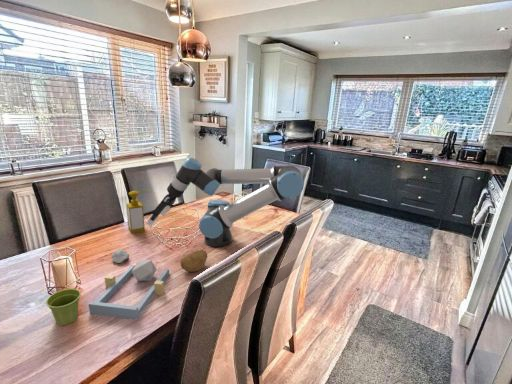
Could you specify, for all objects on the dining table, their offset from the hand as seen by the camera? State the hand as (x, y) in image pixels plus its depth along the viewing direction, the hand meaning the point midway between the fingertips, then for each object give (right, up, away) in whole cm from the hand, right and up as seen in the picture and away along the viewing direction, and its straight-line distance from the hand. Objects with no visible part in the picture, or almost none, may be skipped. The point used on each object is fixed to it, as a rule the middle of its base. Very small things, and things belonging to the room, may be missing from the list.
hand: (155, 219), depth 138 cm
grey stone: (-14, -19, -8) cm, 24 cm away
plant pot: (-14, -30, -44) cm, 55 cm away
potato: (+22, -22, -12) cm, 33 cm away
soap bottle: (-17, -8, +25) cm, 31 cm away
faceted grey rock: (+3, -23, -20) cm, 31 cm away
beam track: (+2, -25, -28) cm, 38 cm away
